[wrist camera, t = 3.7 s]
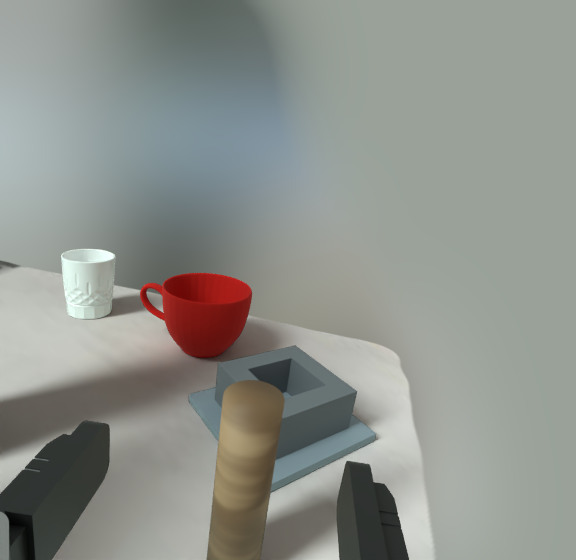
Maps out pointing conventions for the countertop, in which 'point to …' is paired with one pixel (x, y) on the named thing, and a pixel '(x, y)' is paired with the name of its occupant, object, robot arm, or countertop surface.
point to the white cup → (88, 282)
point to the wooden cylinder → (244, 469)
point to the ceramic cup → (202, 311)
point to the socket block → (294, 410)
